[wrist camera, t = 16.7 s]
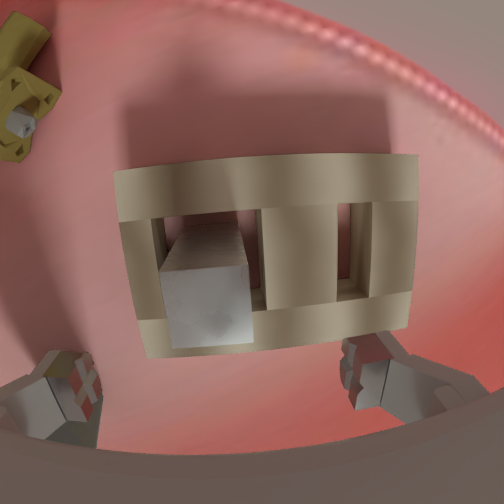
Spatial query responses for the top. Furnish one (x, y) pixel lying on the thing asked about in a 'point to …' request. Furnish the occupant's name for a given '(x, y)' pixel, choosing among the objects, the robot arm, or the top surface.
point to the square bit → (207, 287)
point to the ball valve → (21, 86)
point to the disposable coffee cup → (80, 429)
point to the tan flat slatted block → (283, 242)
